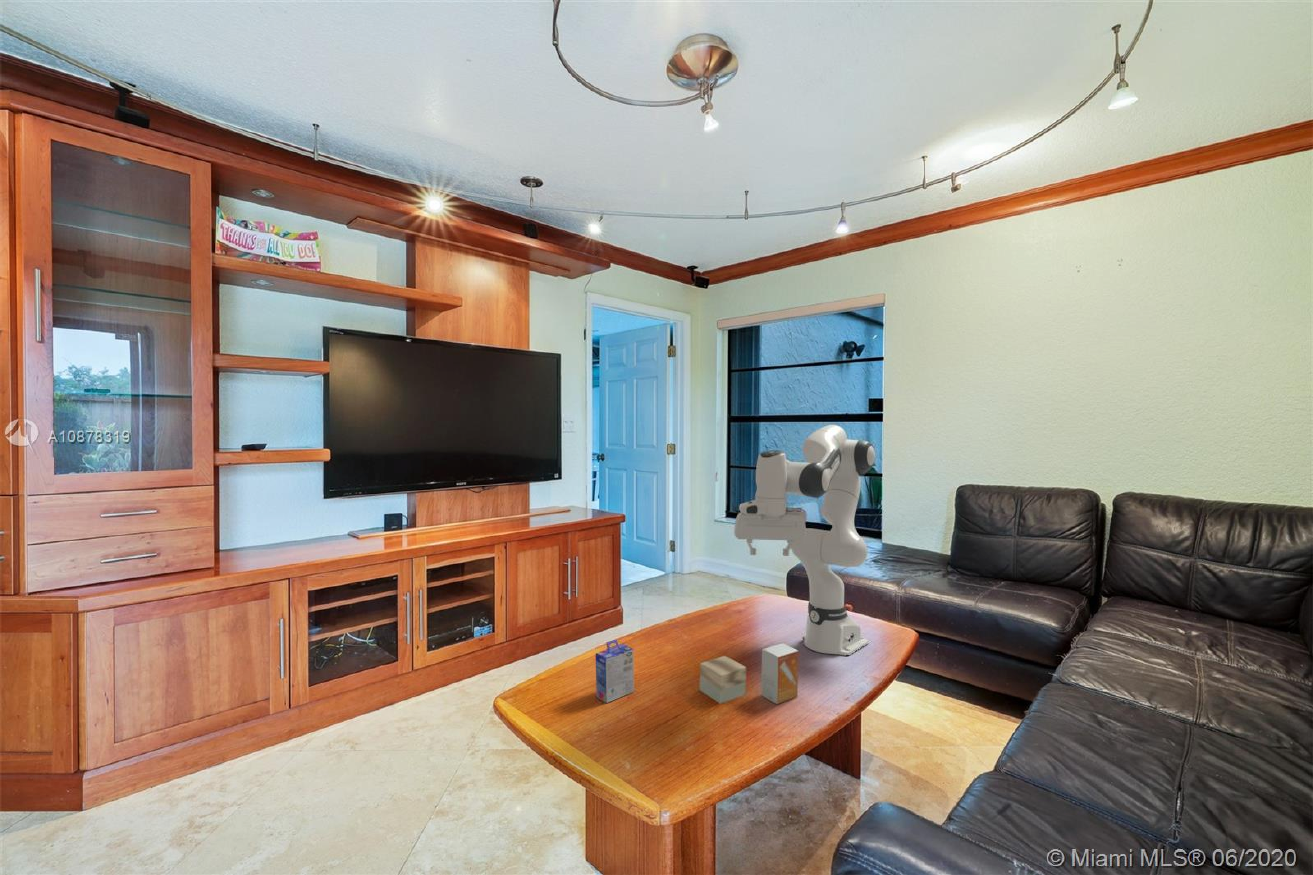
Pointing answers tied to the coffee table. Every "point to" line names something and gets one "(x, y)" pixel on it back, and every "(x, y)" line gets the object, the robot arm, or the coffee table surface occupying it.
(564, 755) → the coffee table surface
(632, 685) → the ink cartridge box
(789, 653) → the small box
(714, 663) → the tower top block
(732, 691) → the tower base block
